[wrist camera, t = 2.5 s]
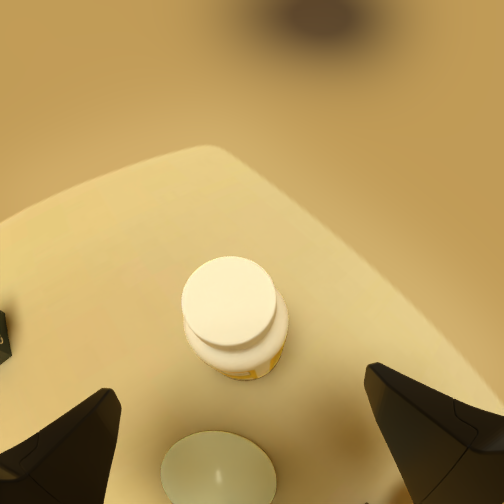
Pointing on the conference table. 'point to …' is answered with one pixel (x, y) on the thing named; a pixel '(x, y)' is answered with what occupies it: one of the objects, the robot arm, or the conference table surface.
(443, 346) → the conference table surface
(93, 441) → the robot arm
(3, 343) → the watch
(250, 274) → the supplement bottle
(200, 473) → the dish
